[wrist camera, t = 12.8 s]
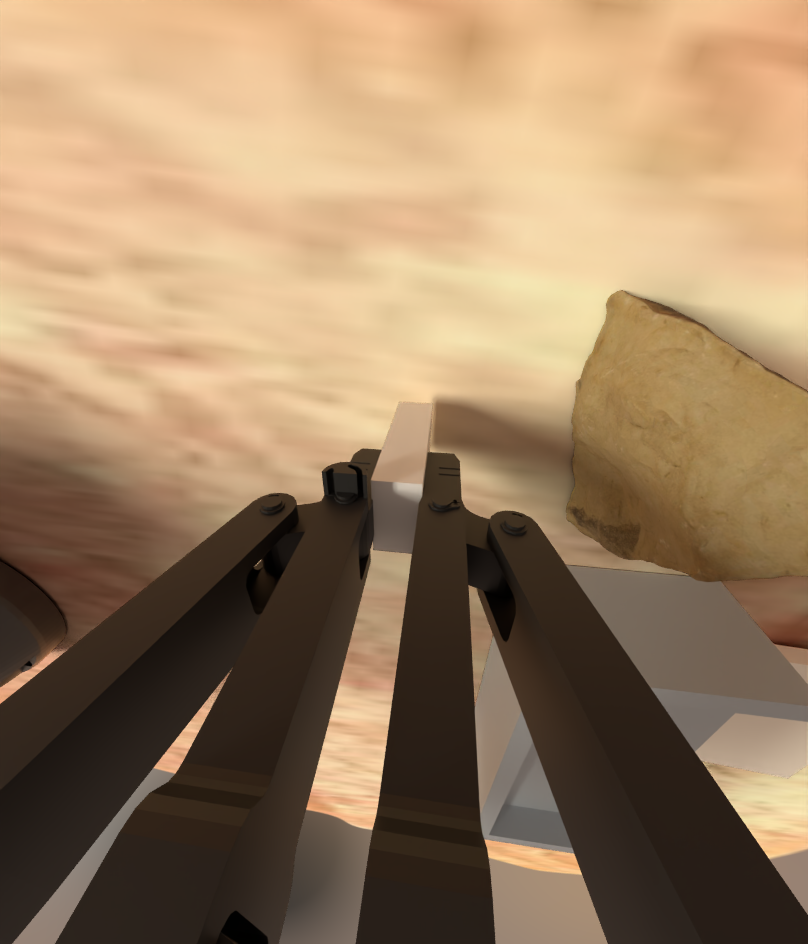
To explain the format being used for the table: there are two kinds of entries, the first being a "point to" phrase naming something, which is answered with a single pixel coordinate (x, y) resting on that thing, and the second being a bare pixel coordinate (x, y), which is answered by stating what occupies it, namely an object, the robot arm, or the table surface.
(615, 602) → the bed
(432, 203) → the table surface
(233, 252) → the table surface
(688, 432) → the rock
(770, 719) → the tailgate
